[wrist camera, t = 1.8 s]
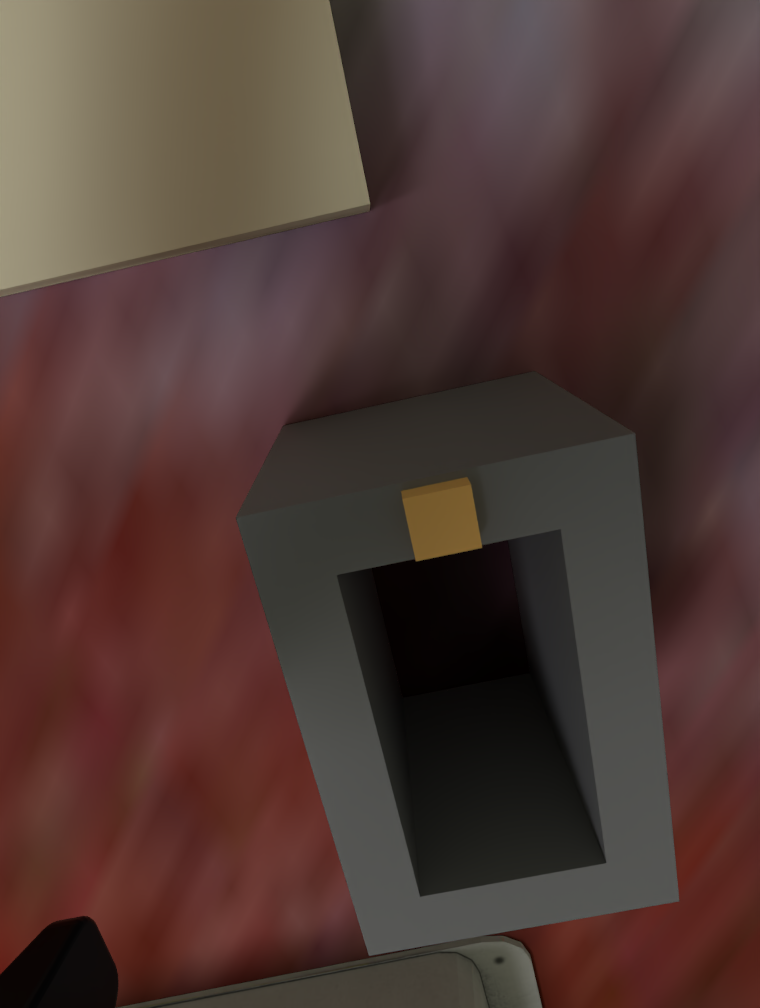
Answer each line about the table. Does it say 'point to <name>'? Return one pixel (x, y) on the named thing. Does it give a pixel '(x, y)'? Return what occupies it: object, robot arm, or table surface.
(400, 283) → the table surface
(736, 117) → the table surface
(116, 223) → the switch plate
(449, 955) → the emergency button
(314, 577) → the grey open bin
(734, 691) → the table surface
